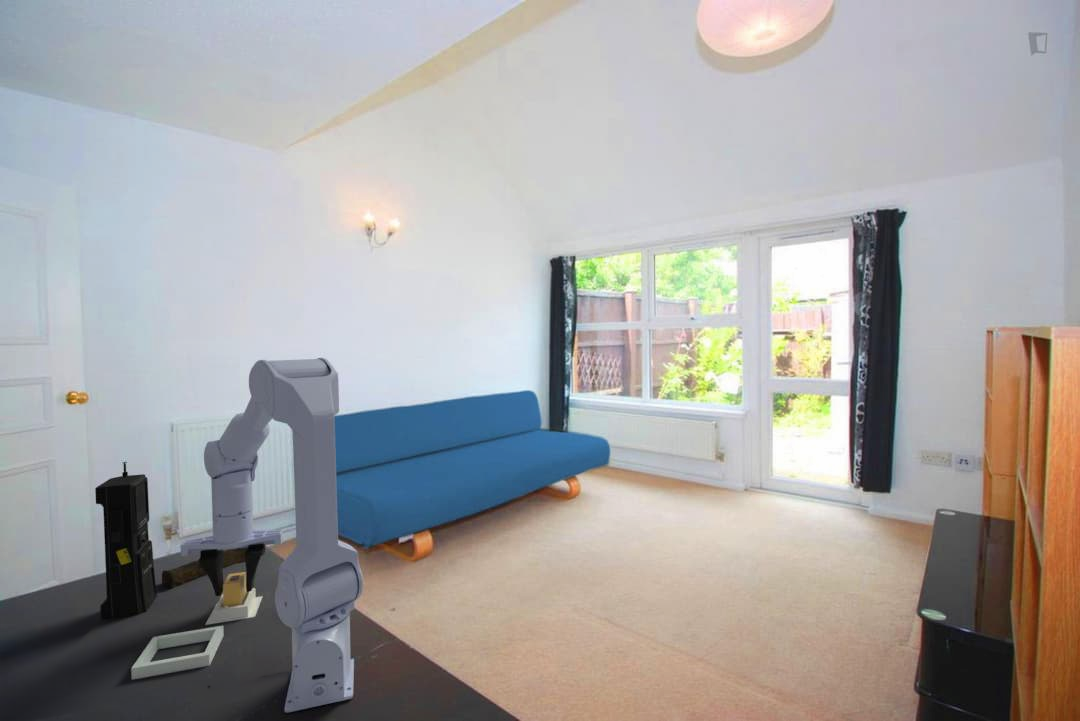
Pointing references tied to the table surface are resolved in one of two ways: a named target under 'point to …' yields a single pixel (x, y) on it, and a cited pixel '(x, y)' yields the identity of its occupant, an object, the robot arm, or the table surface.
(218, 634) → the parts tray
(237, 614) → the white open box
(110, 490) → the portable radio
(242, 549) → the dark brown log
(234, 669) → the table surface
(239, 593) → the block
